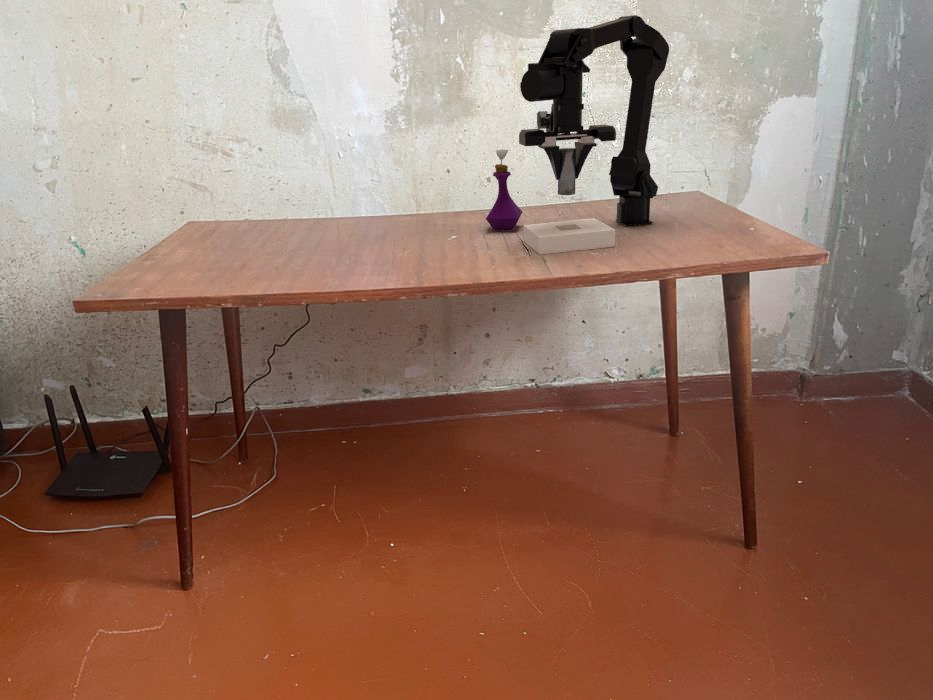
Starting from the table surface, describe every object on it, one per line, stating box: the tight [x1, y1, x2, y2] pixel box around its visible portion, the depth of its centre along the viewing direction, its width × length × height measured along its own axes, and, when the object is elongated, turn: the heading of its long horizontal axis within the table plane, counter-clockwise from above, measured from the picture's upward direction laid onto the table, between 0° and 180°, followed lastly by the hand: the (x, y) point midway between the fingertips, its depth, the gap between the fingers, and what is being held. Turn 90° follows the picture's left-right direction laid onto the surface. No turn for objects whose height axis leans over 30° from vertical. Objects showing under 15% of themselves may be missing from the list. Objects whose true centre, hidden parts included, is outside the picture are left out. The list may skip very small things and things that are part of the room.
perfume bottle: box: [485, 149, 523, 232], centre depth 162 cm, size 8×8×18 cm
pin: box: [557, 147, 577, 196], centre depth 144 cm, size 4×4×9 cm
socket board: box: [523, 217, 616, 256], centre depth 149 cm, size 16×12×4 cm
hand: (566, 179), depth 145 cm, fingers closed on pin, 4 cm apart
